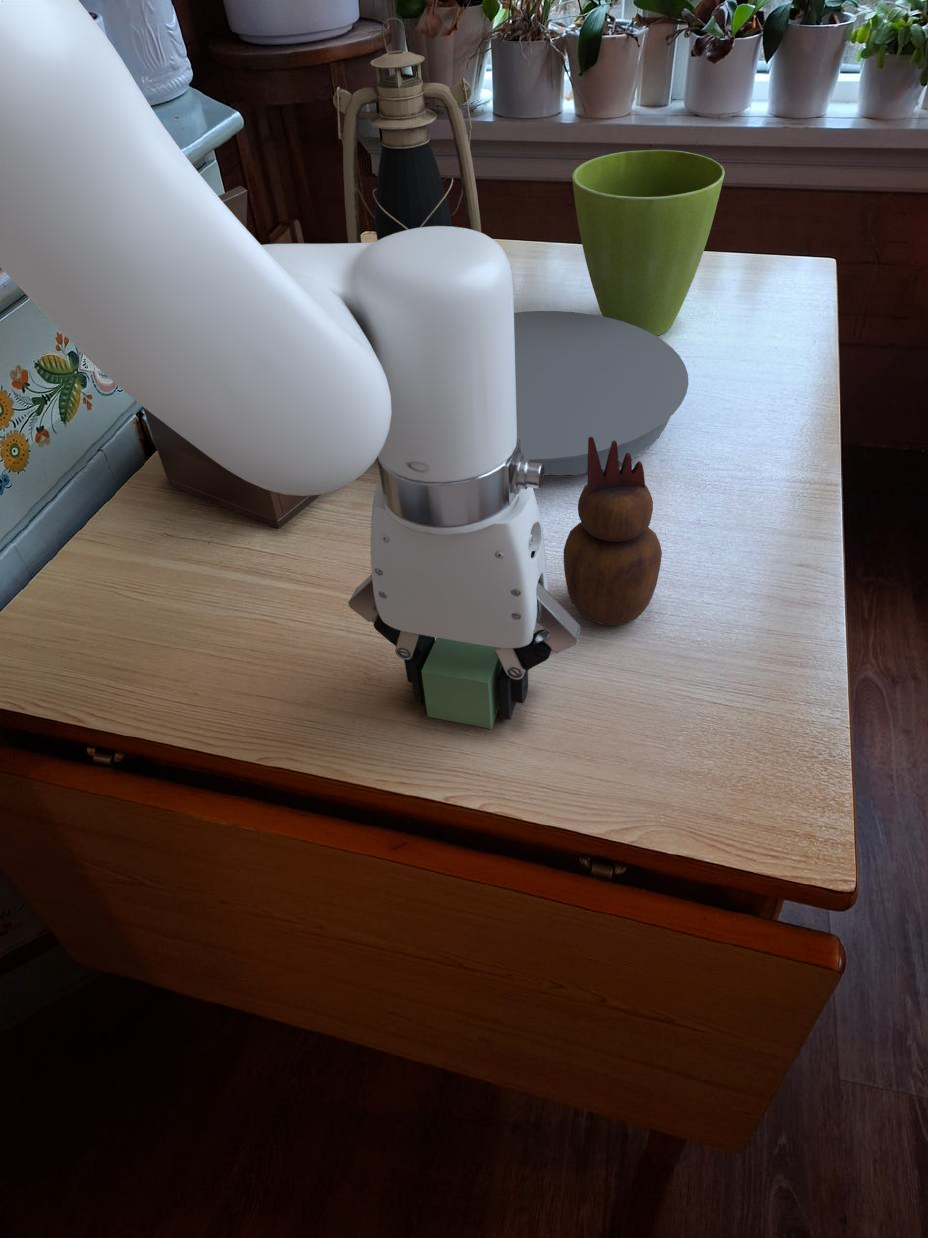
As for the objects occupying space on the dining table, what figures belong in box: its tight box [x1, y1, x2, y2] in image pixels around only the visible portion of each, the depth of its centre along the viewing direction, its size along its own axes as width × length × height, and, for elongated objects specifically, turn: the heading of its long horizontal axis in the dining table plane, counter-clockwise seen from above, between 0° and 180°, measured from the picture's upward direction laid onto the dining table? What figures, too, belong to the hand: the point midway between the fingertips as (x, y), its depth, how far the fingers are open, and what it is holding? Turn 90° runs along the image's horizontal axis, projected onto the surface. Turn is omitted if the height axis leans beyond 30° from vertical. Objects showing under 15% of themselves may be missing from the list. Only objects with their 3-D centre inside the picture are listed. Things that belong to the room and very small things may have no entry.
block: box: [421, 637, 502, 730], centre depth 60 cm, size 4×4×4 cm
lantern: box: [332, 17, 482, 243], centre depth 94 cm, size 14×12×30 cm
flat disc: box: [514, 310, 689, 476], centre depth 87 cm, size 28×28×4 cm
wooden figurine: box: [563, 437, 663, 626], centre depth 62 cm, size 7×6×15 cm
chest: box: [141, 405, 322, 529], centre depth 81 cm, size 14×13×9 cm
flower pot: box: [571, 149, 725, 337], centre depth 96 cm, size 15×15×16 cm
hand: (468, 694), depth 62 cm, fingers open, 5 cm apart
